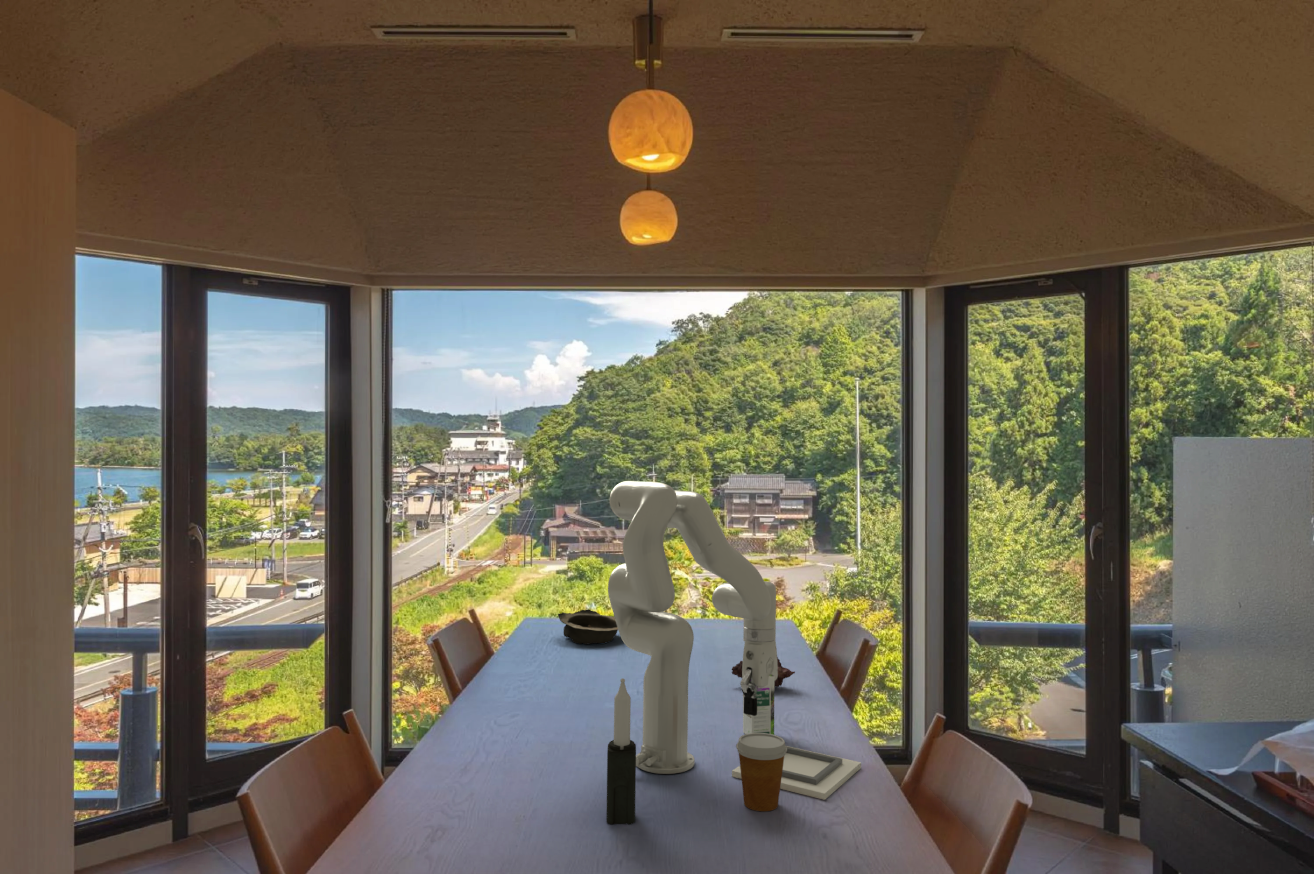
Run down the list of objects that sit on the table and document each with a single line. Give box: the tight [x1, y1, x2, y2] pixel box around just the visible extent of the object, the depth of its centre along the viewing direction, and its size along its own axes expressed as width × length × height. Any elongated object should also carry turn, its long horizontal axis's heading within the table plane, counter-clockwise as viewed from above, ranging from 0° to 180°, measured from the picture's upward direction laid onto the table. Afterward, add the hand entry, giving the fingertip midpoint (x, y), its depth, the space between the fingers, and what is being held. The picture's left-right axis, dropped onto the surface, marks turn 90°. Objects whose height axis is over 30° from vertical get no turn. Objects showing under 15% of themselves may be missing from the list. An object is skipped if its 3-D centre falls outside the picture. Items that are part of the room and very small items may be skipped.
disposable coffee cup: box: [735, 733, 787, 812], centre depth 158 cm, size 10×10×12 cm
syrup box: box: [742, 675, 775, 735], centre depth 197 cm, size 6×6×14 cm
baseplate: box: [731, 745, 862, 801], centre depth 174 cm, size 20×20×2 cm
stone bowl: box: [557, 609, 619, 645], centre depth 296 cm, size 25×25×9 cm
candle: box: [605, 678, 637, 825], centre depth 152 cm, size 5×5×25 cm
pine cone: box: [731, 656, 796, 689], centre depth 238 cm, size 18×10×10 cm, turn 83°
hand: (758, 709), depth 197 cm, fingers closed on syrup box, 7 cm apart
